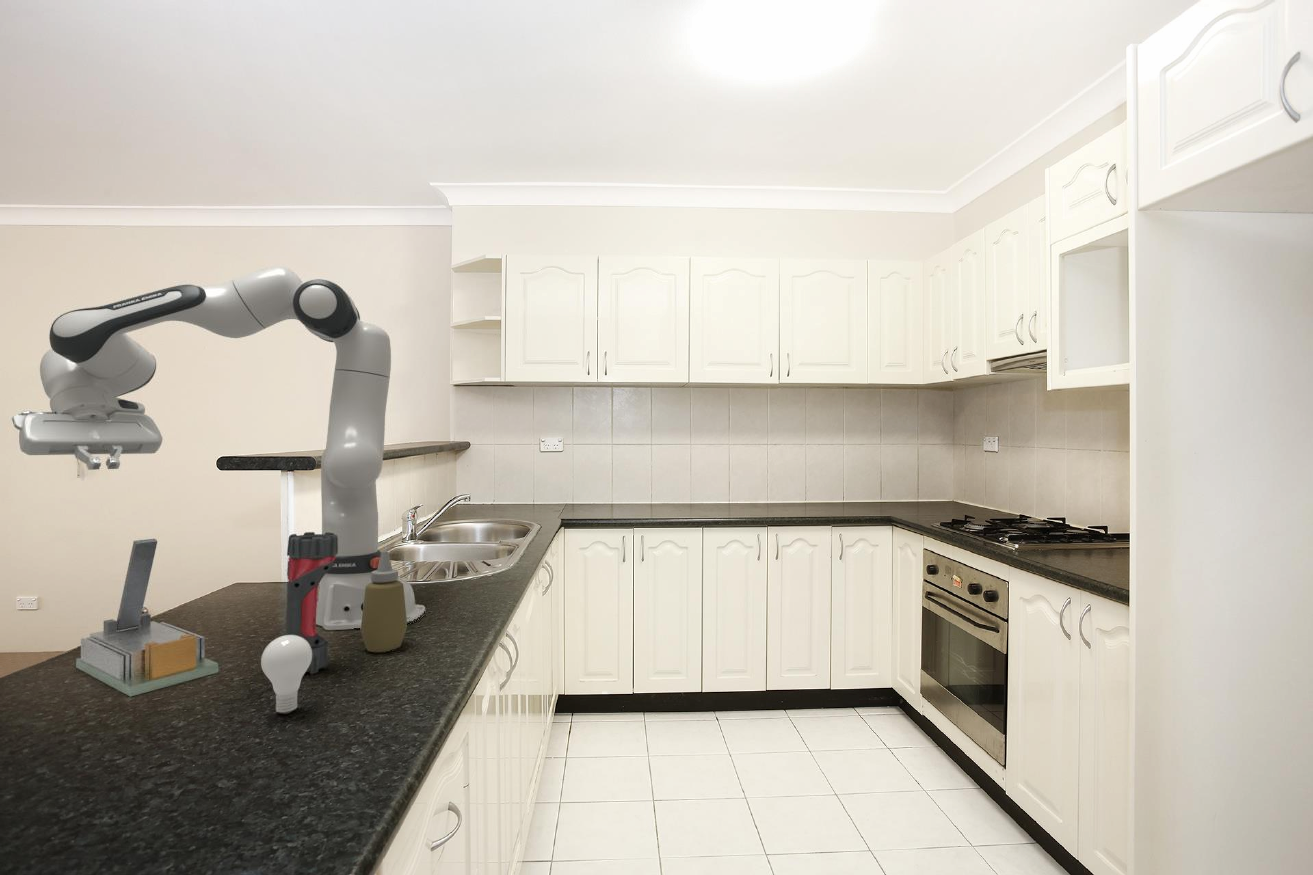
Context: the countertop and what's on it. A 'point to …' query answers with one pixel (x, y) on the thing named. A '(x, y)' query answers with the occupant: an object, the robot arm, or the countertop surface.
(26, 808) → the countertop surface
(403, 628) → the squeeze bottle
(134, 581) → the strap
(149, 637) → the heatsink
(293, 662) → the lightbulb
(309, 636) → the flashlight
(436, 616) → the countertop surface
